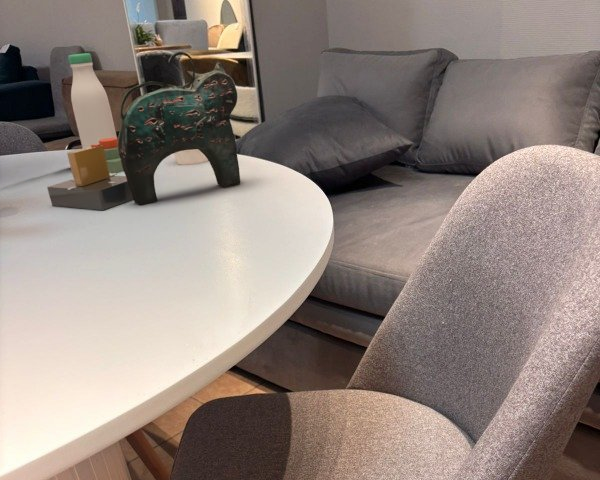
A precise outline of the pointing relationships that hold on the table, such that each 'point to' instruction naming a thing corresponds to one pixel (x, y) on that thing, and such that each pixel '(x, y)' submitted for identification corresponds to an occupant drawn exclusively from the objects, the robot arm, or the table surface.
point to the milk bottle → (90, 102)
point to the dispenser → (113, 160)
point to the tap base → (91, 193)
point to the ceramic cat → (179, 129)
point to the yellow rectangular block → (88, 165)
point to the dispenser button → (109, 143)
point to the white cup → (190, 157)
